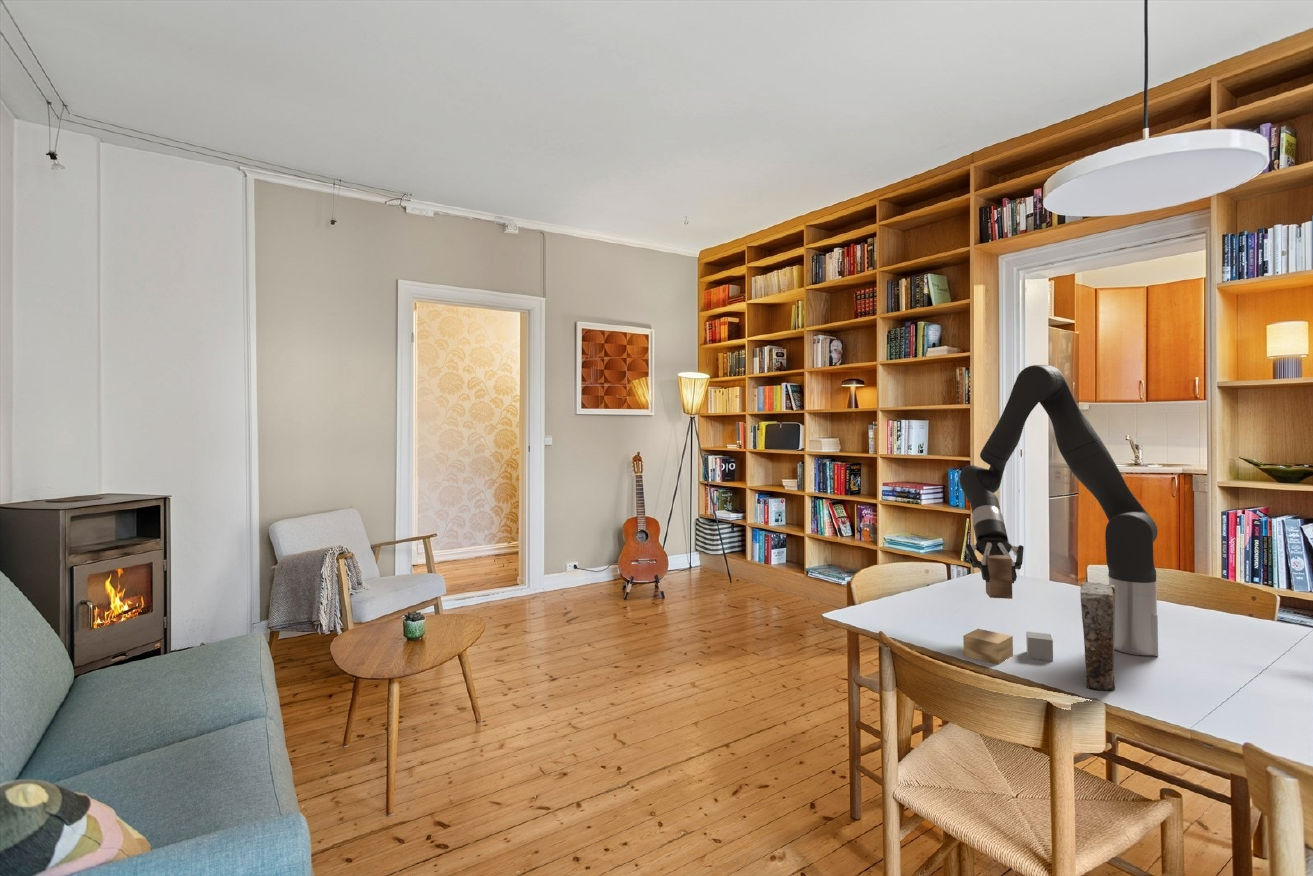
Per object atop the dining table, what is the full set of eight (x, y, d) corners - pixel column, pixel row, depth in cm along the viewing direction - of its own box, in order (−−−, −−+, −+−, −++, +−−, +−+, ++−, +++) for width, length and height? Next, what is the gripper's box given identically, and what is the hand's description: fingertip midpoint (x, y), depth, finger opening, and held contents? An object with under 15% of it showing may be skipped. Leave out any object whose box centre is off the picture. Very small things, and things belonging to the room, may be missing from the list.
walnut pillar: (1007, 593, 162) (1006, 554, 162) (1012, 598, 157) (1011, 558, 157) (986, 592, 164) (985, 554, 164) (990, 597, 159) (989, 558, 159)
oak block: (1013, 657, 151) (1012, 636, 151) (998, 665, 146) (998, 643, 146) (978, 648, 157) (978, 628, 157) (963, 656, 152) (963, 635, 152)
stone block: (1078, 668, 142) (1076, 579, 142) (1116, 673, 139) (1114, 582, 139) (1082, 689, 131) (1080, 592, 131) (1124, 695, 127) (1122, 596, 127)
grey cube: (1050, 654, 151) (1050, 634, 151) (1053, 661, 147) (1052, 640, 147) (1026, 652, 153) (1026, 631, 153) (1028, 658, 149) (1027, 637, 149)
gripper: (961, 517, 170) (970, 571, 158) (1021, 518, 165) (1035, 574, 154) (958, 534, 175) (967, 588, 163) (1016, 535, 171) (1030, 590, 159)
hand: (1000, 581), depth 159 cm, fingers closed on walnut pillar, 5 cm apart
